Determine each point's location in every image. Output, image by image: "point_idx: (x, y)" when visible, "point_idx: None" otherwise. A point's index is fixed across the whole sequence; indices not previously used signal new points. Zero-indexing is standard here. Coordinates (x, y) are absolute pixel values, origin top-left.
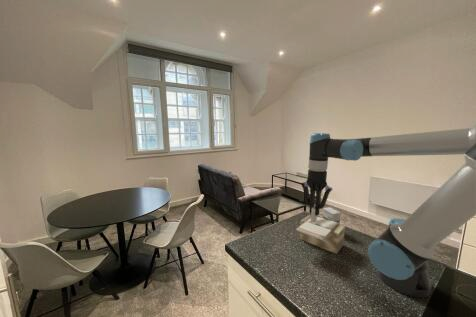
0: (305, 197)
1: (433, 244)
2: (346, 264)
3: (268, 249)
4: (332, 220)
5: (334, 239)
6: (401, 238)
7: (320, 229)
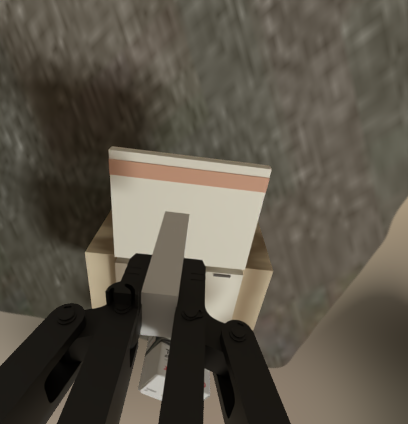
0: (274, 416)
1: None
2: (69, 162)
3: (366, 60)
4: (164, 345)
5: (111, 232)
6: None
7: (156, 234)
